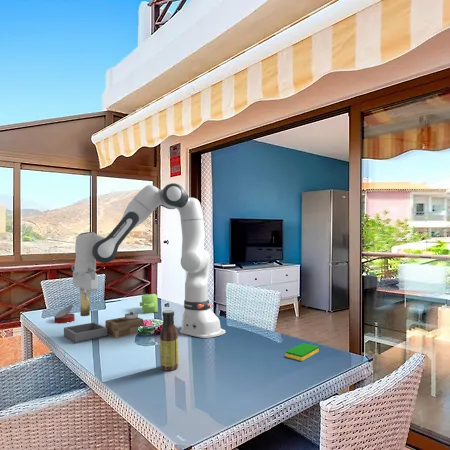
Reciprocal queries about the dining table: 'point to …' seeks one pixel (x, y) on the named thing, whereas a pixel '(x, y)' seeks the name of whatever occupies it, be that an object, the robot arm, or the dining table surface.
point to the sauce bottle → (168, 342)
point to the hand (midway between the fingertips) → (85, 298)
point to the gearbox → (149, 303)
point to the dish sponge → (302, 351)
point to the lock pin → (84, 305)
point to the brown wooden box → (123, 325)
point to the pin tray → (85, 332)
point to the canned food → (64, 315)
